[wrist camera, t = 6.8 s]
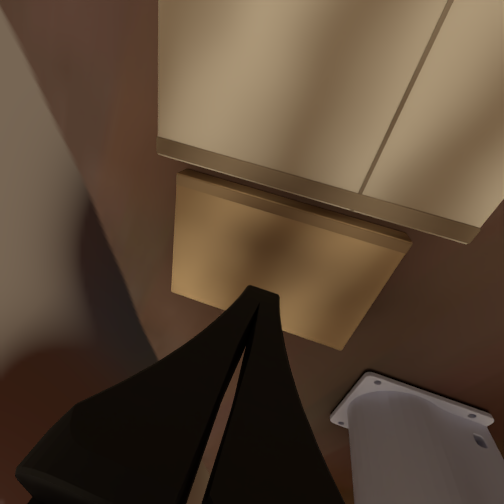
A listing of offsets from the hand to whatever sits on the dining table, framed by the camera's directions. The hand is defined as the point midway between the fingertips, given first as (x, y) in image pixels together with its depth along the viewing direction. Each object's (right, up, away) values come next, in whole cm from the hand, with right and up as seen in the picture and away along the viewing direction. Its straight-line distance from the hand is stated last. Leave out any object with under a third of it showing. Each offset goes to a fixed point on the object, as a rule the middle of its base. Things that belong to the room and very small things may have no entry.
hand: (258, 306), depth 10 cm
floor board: (+4, +9, +1) cm, 10 cm away
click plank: (+1, +2, +6) cm, 6 cm away
